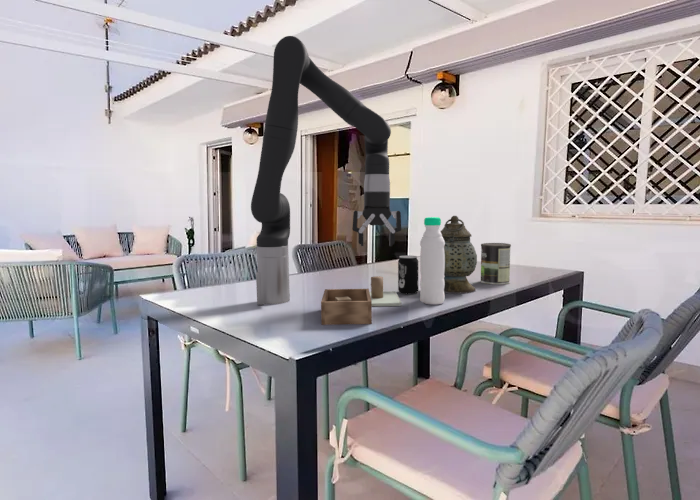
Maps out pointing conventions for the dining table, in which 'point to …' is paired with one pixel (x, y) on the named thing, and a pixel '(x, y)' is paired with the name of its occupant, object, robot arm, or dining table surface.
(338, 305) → the box
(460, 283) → the lantern
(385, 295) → the lid
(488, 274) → the coffee can
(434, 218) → the water bottle
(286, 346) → the dining table surface
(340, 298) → the maple cube
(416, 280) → the beverage can
